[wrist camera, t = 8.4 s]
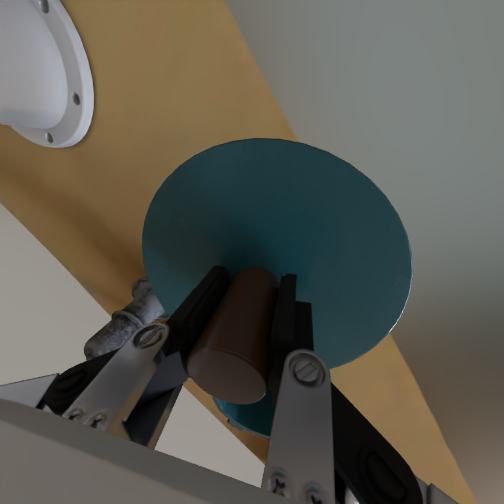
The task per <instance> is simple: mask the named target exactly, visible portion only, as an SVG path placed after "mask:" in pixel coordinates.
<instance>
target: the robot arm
mask: <svg viewBox="0 0 504 504" xmlns="http://www.w3.org/2000/svg"><path fill="white" fill-rule="evenodd" d="M93 109H94V91H93V82H92V75H91V71H90V67H89V63H88V58H87V56H86V53H85V50H84V47H83V44H82V41H81V39H80V36H79V34H78V32H77V30H76V28H75V26H74V24H73V22H72V20H71V18H70V16H69V14H68V13H67V11H66V10H65V8H64V6H63V5H62V3H61V2H60V0H0V124H4V125H9V126H10V127H11V128H13V129H14V130H15V131H16V132H18V133H19V134H20V135H21V136H23V137H25V138H26V139H28V140H30V141H31V142H34V143H36V144H39V145H41V146H46V147H57V148H66V147H69V146H73V145H75V144H76V143H78V142H79V141H81V139H82V138H83V137H84V135H85V134H86V133H87V131H88V128H89V126H90V124H91V120H92V114H93ZM296 283H297V274H289V273H286V276H281V281H280V287H279V292H278V297H277V303H276V308H275V314H274V319H273V324H272V330H271V337H270V364H271V368H270V374H269V388H271V389H272V404H273V406H274V407H275V415H274V420H273V425H272V431H271V436H270V441H269V447H268V452H267V457H266V463H265V468H264V473H263V479H262V485H261V488H259V487H256V486H253V485H250V484H247V483H245V482H242V481H239V480H237V479H234V478H231V477H228V476H226V475H223V474H220V473H218V472H215V471H212V470H209V469H207V468H204V467H201V466H198V465H196V464H193V463H190V462H187V461H184V460H182V459H179V458H176V457H173V456H171V455H168V454H165V453H162V452H159V451H157V450H154V449H155V446H156V444H157V442H158V440H159V437H160V435H161V433H162V431H163V428H164V426H165V424H166V422H167V419H168V417H169V415H170V413H171V411H172V408H173V406H174V404H175V402H176V399H177V397H178V395H179V393H180V391H181V388H182V385H183V382H185V381H187V379H188V377H190V375H189V373H188V370H187V358H188V356H189V354H190V353H191V351H192V349H193V347H194V346H195V344H196V342H197V340H198V339H199V337H200V335H201V334H202V332H203V330H204V328H205V327H206V325H207V323H208V321H209V320H210V318H211V316H212V315H213V313H214V311H215V309H216V308H217V306H218V304H219V303H220V301H221V299H222V297H223V296H224V294H225V292H226V290H227V289H228V287H229V285H230V280H229V271H228V270H227V269H226V268H225V267H224V266H213V267H212V269H211V270H210V271H209V272H208V273H207V275H206V276H205V277H204V278H203V279H202V281H201V282H200V283H199V284H198V285H197V287H196V288H194V289H193V290H192V292H191V293H190V294H189V295H188V296H187V297H186V299H185V300H184V301H183V302H182V303H181V305H180V306H179V307H178V308H177V309H176V311H175V312H174V313H173V314H172V315H171V317H170V318H169V319H168V320H167V321H166V323H164V322H152V323H148V324H146V325H144V326H142V327H140V328H139V329H137V330H136V331H135V332H134V333H133V334H132V335H131V337H130V338H129V339H128V340H127V341H126V342H125V343H124V345H123V346H122V347H120V348H118V349H115V350H113V351H110V352H108V353H105V354H103V355H100V356H98V357H95V358H93V359H90V360H88V361H85V362H83V363H80V364H78V365H76V366H74V367H72V368H70V369H68V370H66V371H65V372H63V373H62V374H61V375H60V374H59V373H56V374H52V375H47V376H42V377H38V378H33V379H28V380H23V381H19V382H14V383H9V384H5V385H0V504H459V503H457V502H456V501H455V500H453V499H452V498H451V497H449V496H448V495H447V494H445V493H444V492H443V491H441V490H440V489H439V488H437V487H436V486H435V485H433V484H432V483H431V484H430V485H429V486H428V485H427V484H426V483H425V482H423V481H422V480H421V479H419V478H418V477H417V476H415V475H414V474H413V472H412V470H411V468H410V467H409V465H408V464H407V463H406V461H405V460H404V459H403V458H402V456H401V455H400V454H399V453H398V452H397V451H396V450H395V449H394V448H393V447H392V446H391V444H390V443H389V442H388V441H387V440H386V439H385V438H384V437H383V436H382V435H381V434H380V433H379V432H378V431H377V430H376V429H375V428H374V427H373V426H372V424H371V423H370V422H369V421H368V420H367V419H366V418H365V417H364V416H363V415H362V414H361V413H360V412H359V411H358V410H357V409H356V408H355V407H354V406H353V404H352V403H351V402H350V401H349V400H348V399H347V398H346V397H345V396H344V395H343V394H342V393H341V392H340V391H339V390H338V389H337V388H336V387H335V386H334V384H333V383H332V382H331V376H330V370H329V367H328V365H327V363H326V362H325V361H324V359H323V358H322V357H321V356H320V355H318V354H317V353H315V352H314V340H313V323H312V305H311V303H309V302H302V301H296ZM190 378H191V377H190Z"/></svg>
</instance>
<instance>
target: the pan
mask: <svg viewBox="0 0 504 504" xmlns="http://www.w3.org/2000/svg"><path fill="white" fill-rule="evenodd" d="M213 400H214V402H215V404H216V406H217V407H218V409H219V411H220V412H221V413H222V414H224V415H225V416H226V417H227V418H228V421H227V423H228V424H230V425H232V426H234V427H235V428H237V429H239V430H243V429H245V430H247V431H249V432H251V433H254V434H257V435H259V436H262V437H265V438H268V439H270V436H271V431H272V425H273V420H274V415H275V407H274V406H273V404H272V389H271V388H269V381H268V387H267V392H266V394H265V395H264V397H263V398H262V399H261V400H259V401H257V402H255V403H251V404H235V403H230V402H226V401H223V400H221V399H218V398H216V397H214V396H213Z"/></svg>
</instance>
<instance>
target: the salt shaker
mask: <svg viewBox="0 0 504 504" xmlns="http://www.w3.org/2000/svg"><path fill="white" fill-rule="evenodd" d="M132 296H133V298H134V299H133V301H132V302H131V303H130V304H128V305H127V306H126V307H125V308H124V309H123V310H121V311H116V312H114V313H113V314H112V320H111V321H110V322H109V323H108V324H106V325H105V326H104V327H103V328H102V329H101V330H99V331H98V332H97V333H96V334H95V335H94V336H93V337H91V338H90V339H89V340H88V341H87V342H86V344H85V347H84V354H85V356H86V360H87V361H88V360H90V359H93V358H95V357H98V356H100V355H103V354H105V353H108V352H110V351H113V350H115V349H118V348H120V347H122V346H123V345H124V343H125V342H126V341H127V340H128V339H129V338H130V337H131V335H132V334H133V333H134V332H135V331H136V330H137V329H139V328H140V327H142V326H144V325H146V324H148V323H152V322H153V321H154V320H155V319H156V318H158V319H169V318H170V316H169V315H168V314H167V313H166V311H165V310H164V309H163V307H162V305H161V304H160V302H159V301H158V299H157V297H156V295H155V293H154V291H153V289H152V287H151V285H150V282H149V279H148V277H145V278H141V279H138V280H137V281H135V282H134V284H133V286H132Z"/></svg>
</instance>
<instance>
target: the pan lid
mask: <svg viewBox="0 0 504 504" xmlns="http://www.w3.org/2000/svg"><path fill="white" fill-rule="evenodd" d="M142 251H143V260H144V265H145V269H146V273H147V276H148V279H149V282H150V285H151V287H152V289H153V291H154V293H155V295H156V297H157V299H158V301H159V302H160V304H161V305H162V307H163V309H164V310H165V311H166V313H167V314H168V315H169V316H170V317H171V315H172V314H173V313H174V312H175V311H176V309H177V308H178V307H179V306H180V305H181V303H182V302H183V301H184V300H185V299H186V297H187V296H188V295H189V294H190V293H191V292H192V290H193V289H194V288H196V287H197V285H198V284H199V283H200V282H201V281H202V279H203V278H204V277H205V276H206V275H207V273H208V272H209V271H210V270H211V269H212V267H213V266H224V267H225V268H226V269H227V270H228V271H229V280H230V285H229V287H228V289H227V290H226V292H225V294H224V296H223V297H222V299H221V301H220V303H219V304H218V306H217V308H216V309H215V311H214V313H213V315H212V316H211V318H210V320H209V321H208V323H207V325H206V327H205V328H204V330H203V332H202V334H201V335H200V337H199V339H198V340H197V342H196V344H195V346H194V347H193V349H192V351H191V353H190V354H189V356H188V358H187V370H188V373H189V375H190V377H191V378H192V380H193V381H194V382H195V383H196V384H197V385H198V386H199V387H200V388H201V389H203V390H204V391H205V392H207V393H208V394H210V395H212V396H214V397H216V398H218V399H221V400H223V401H226V402H230V403H235V404H251V403H255V402H257V401H259V400H261V399H262V398H263V397H264V395H265V394H266V392H267V387H268V381H269V374H270V368H271V364H270V337H271V330H272V324H273V319H274V314H275V308H276V303H277V297H278V292H279V287H280V281H281V276H286V273H289V274H297V283H296V301H302V302H309V303H311V305H312V323H313V340H314V352H315V353H317V354H318V355H320V356H321V357H322V358H323V359H324V361H325V362H326V363H327V365H328V367H329V369H332V368H335V367H339V366H341V365H344V364H346V363H349V362H351V361H353V360H355V359H357V358H359V357H360V356H362V355H364V354H366V353H367V352H368V351H370V350H371V349H372V348H374V347H375V346H376V345H378V344H379V343H380V342H381V341H382V340H383V339H384V338H385V337H386V336H387V335H388V334H389V332H390V331H391V330H392V328H393V327H394V326H395V324H396V323H397V322H398V320H399V318H400V316H401V314H402V312H403V310H404V308H405V306H406V303H407V300H408V297H409V294H410V290H411V282H412V275H413V269H412V253H411V249H410V245H409V240H408V236H407V233H406V231H405V229H404V226H403V224H402V222H401V220H400V217H399V215H398V213H397V212H396V210H395V209H394V207H393V206H392V205H391V203H390V201H389V200H388V199H387V197H386V196H385V194H384V193H383V192H382V191H381V190H380V189H379V188H378V187H377V186H376V185H375V184H374V183H373V182H372V181H371V180H370V179H369V178H368V177H367V176H365V175H364V174H363V173H361V172H360V171H359V170H358V169H356V168H355V167H354V166H352V165H351V164H350V163H348V162H346V161H344V160H342V159H340V158H338V157H337V156H334V155H333V154H331V153H329V152H327V151H324V150H321V149H318V148H316V147H312V146H310V145H307V144H304V143H299V142H294V141H289V140H283V139H269V138H253V139H244V140H236V141H231V142H228V143H224V144H221V145H217V146H214V147H211V148H209V149H207V150H205V151H203V152H201V153H199V154H196V155H194V156H193V157H192V158H190V159H189V160H187V161H186V162H184V163H183V164H181V165H180V166H179V167H178V168H177V169H176V170H175V171H174V172H173V173H172V174H171V175H169V176H168V177H167V178H166V180H165V181H164V183H163V184H162V185H161V187H160V188H159V189H158V191H157V192H156V194H155V196H154V198H153V200H152V202H151V204H150V206H149V209H148V212H147V215H146V218H145V222H144V228H143V234H142Z"/></svg>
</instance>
